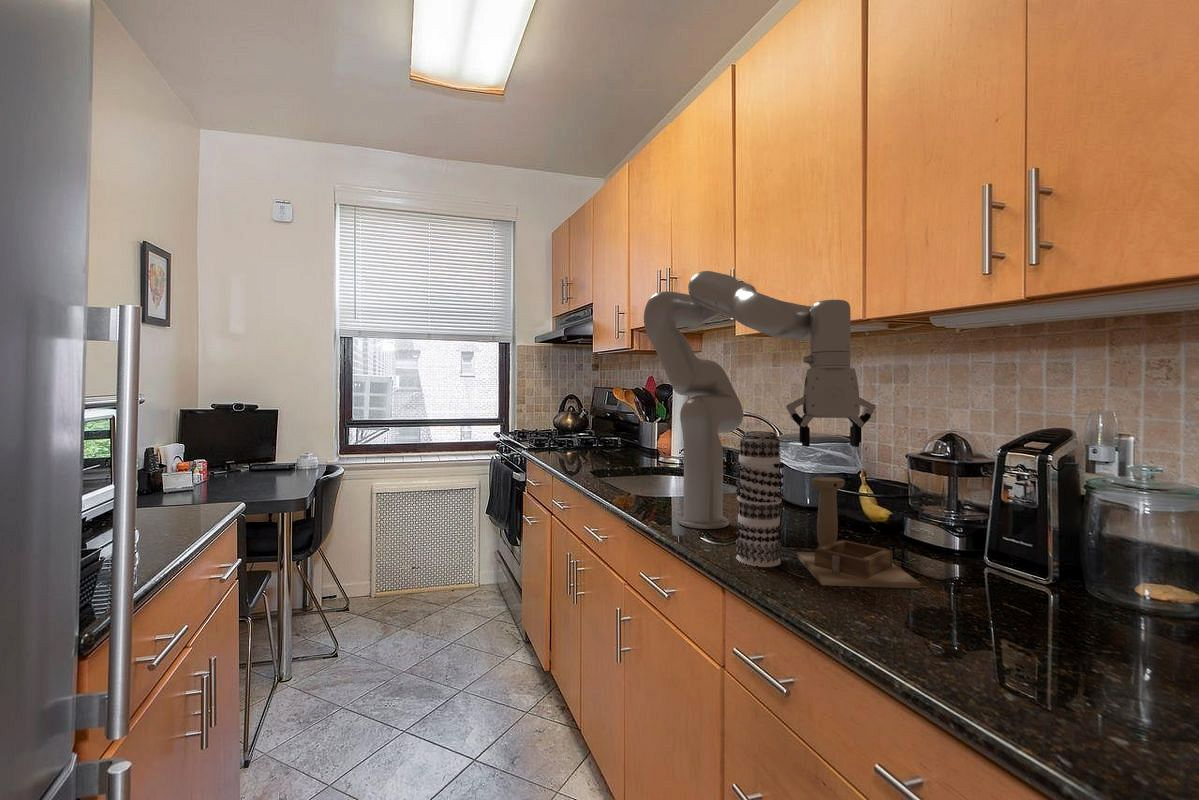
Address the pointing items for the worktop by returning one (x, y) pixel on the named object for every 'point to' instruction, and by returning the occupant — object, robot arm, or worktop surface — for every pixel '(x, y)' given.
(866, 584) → the socket plate
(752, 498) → the decorative candle
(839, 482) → the handle
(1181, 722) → the worktop surface
